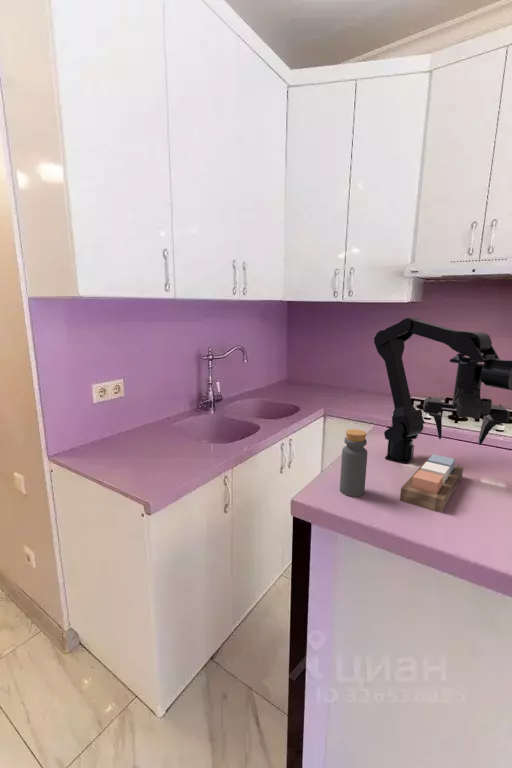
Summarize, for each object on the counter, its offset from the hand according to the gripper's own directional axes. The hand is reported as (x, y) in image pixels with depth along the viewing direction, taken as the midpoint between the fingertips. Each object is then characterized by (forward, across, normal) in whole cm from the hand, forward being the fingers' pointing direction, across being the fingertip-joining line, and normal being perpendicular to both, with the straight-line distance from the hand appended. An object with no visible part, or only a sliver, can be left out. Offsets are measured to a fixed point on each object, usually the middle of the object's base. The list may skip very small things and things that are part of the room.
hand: (459, 441), depth 98 cm
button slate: (+9, -4, -1) cm, 9 cm away
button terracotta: (+8, -7, -15) cm, 19 cm away
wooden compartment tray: (+11, -5, -8) cm, 14 cm away
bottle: (+11, -24, -18) cm, 32 cm away
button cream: (+9, -5, -8) cm, 13 cm away
